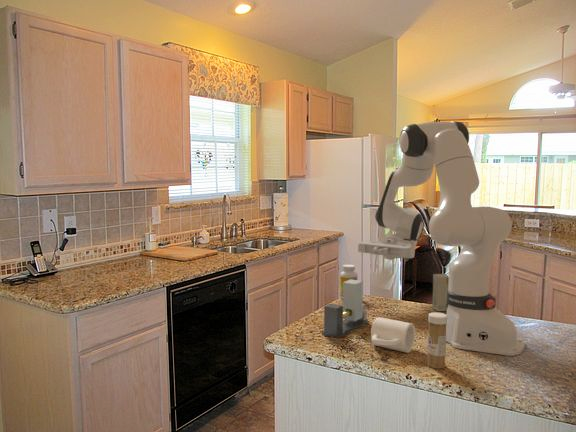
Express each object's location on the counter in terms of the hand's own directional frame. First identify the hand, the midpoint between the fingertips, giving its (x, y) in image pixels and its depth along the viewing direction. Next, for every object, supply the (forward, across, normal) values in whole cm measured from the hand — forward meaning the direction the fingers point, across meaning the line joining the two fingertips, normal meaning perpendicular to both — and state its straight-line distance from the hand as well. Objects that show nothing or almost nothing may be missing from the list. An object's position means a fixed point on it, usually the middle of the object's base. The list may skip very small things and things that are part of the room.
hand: (376, 252), depth 168 cm
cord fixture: (+22, 0, +21) cm, 30 cm away
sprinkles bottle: (+35, +33, +21) cm, 52 cm away
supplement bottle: (-9, -16, +22) cm, 28 cm away
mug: (+32, +19, +21) cm, 43 cm away
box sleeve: (+18, 0, +19) cm, 26 cm away
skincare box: (-15, +18, +21) cm, 32 cm away
